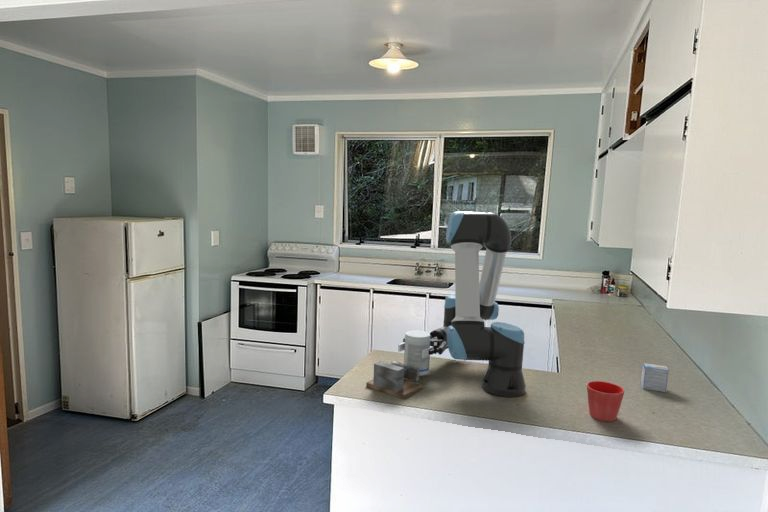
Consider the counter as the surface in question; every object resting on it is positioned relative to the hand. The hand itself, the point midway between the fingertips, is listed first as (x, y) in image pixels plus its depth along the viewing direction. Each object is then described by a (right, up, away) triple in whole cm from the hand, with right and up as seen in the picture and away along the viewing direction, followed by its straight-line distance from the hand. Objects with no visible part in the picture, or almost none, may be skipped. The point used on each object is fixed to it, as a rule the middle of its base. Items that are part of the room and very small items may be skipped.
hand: (410, 351), depth 175 cm
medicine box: (+90, -15, +3) cm, 91 cm away
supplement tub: (+2, -9, +5) cm, 10 cm away
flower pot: (+60, -16, -22) cm, 66 cm away
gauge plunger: (-4, -9, -3) cm, 11 cm away
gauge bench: (-6, -11, -7) cm, 15 cm away
